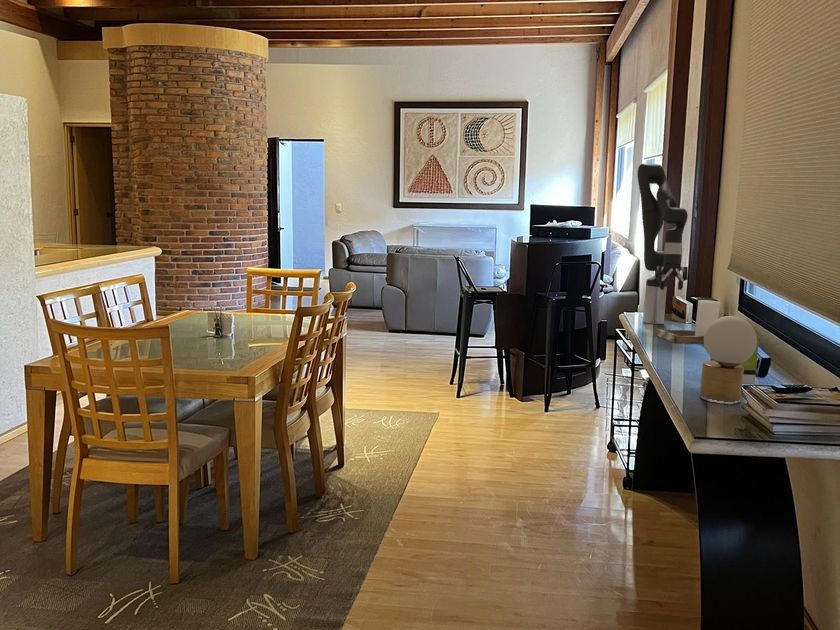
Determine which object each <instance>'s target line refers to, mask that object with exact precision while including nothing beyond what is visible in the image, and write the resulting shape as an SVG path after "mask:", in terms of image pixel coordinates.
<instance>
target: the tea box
mask: <svg viewBox="0 0 840 630" xmlns="http://www.w3.org/2000/svg"><path fill="white" fill-rule="evenodd" d="M759 343H760V342H759V340H757V346H756V349H755V352H754V353H753V355H752V356H751V357H750V358H749V359H748V360H747V361H745V362H743V363H742V364H740V365H742V366H744V373H743V382H742V384H754V385H755V382H756V374H757V373H756V372H757V361H758V355H759V354H758V353H759ZM709 357H710V356H709ZM711 360H713V359H712V358H711V357H710V358H709V361H711Z"/></svg>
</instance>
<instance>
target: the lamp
mask: <svg viewBox="0 0 840 630" xmlns="http://www.w3.org/2000/svg"><path fill="white" fill-rule="evenodd" d="M757 341H758V337H757V333H756V330H755V329H754V327H753V325H751V324H750V323H749V322H748V320H745V319H744V318H742V317H739V316H735V315H725V316H721V317H718V319H716V320H715V321H713V322H712V323H711V324H710V325H709V326H708V328H707V330H706V332H705V335H704V343H703V345H704V349H705V351H706V353H707V355H708V356H709V357H711V358H712V359H713V360H711V361H710V360H704V361H702V367H701V368H702V369H701V377H700V387H699V396H700V395H701V396H703V397H706V398H708V399H712V400H717V401H724V402H735V401H739V400H740V399H741V398H742V391H741V390H740V389H741V387H742V388H743V386H742V382H743V373H744V366H742V365H740V364H742V363H743V362H745V361H747V360H748V359H749V358H750V357H751V356H752V355H753V353H754V352H755V349H756V346H757ZM741 400H742V399H741Z"/></svg>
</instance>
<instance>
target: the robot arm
mask: <svg viewBox="0 0 840 630" xmlns="http://www.w3.org/2000/svg"><path fill="white" fill-rule="evenodd" d="M636 176H637V182H638V188H639V193H640V201H641V202H640V203H641V216H642V217H641V219H642V227H643V243H644V244H643V245H644V246H643V247H644V248H643V250H644V251H643V260H644V261H643V262H644V267H645V269H646V270H647V271H648V272H655V275H654V276H652V277H649V278H647V279H646V280H645V281H646V283H645V284H646V285H645V294H644V295H645V296H644V303H643V313H642V314H643V316H642V322H643V323H645V324H651V325H663V324H664V323H665V311H666V300H667V291H668V289H667V288H668V282H669V277H675V278H676V279H677V280H678V282H677V291H682V289H683V288H684V281H688V273H689V271H688V270H689V269H688V266H682V265H681V264H682V259H683V258H682V257H683V233H684V231H685V227H686V224H687V221H688V218H689V217H688V215H689V213H688V211H687V209H685V208H683V207H677V205H678V202H677V200H676V198H675V197H674V195H673V193H672V191H671V189H670V186H669V182H668V180H667V176H666V173H665V170H664V168H663V166H662V165H661V164H659V163H641V164H639V166H638V167H637V174H636ZM651 185H657V186H658V189H657V192H656V196H655V195H654V194H653V192H652V189H651ZM664 223H665V224H672V225H673V224H675V226H674V227H673V228H670V229H667V230H666V231H665V239H664V240H665V241H664V242H665V243H664V248H663V250H655V244H656V240H657V236H658V235H659V233H660V231H661V230H662V228H663V225H664ZM681 272H682V274H681Z"/></svg>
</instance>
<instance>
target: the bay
mask: <svg viewBox="0 0 840 630" xmlns="http://www.w3.org/2000/svg"><path fill="white" fill-rule="evenodd" d="M656 335H657V336H656V337H658V336H659V337H658V338H661V337H662V338H661V339H663V338H664V340H666V339H667V340H666V341H668V340H669V341H668V342H671V343H673V342H674V344H689V343H690V344H704V336H695V329H662V328H656Z"/></svg>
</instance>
